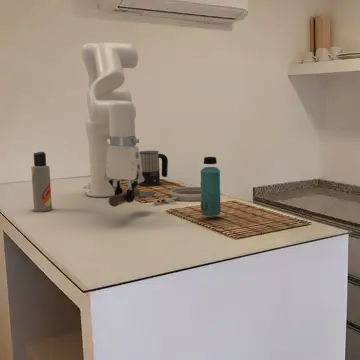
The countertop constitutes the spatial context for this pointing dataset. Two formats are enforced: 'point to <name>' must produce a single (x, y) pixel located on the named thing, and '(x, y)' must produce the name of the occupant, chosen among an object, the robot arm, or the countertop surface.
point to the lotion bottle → (41, 183)
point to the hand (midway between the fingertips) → (124, 201)
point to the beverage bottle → (210, 188)
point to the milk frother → (152, 167)
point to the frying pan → (183, 195)
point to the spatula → (122, 197)
